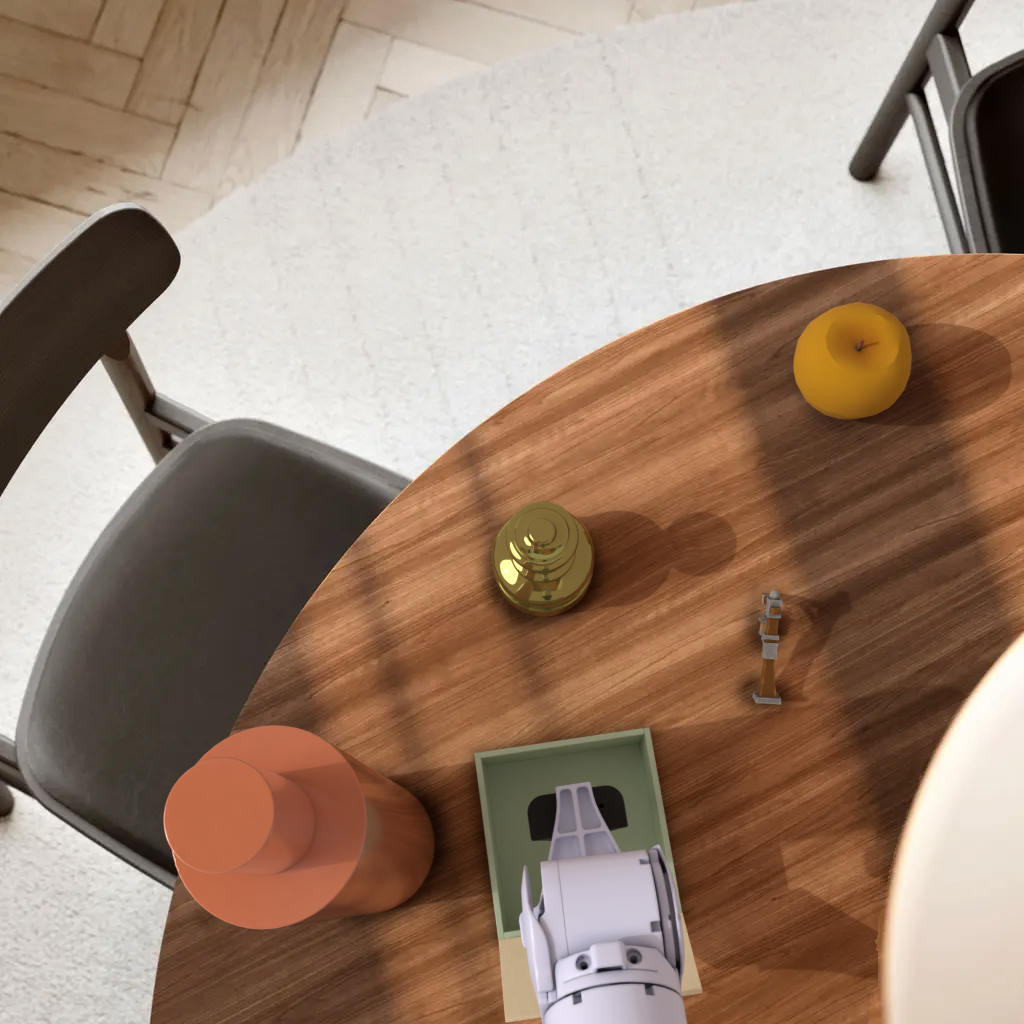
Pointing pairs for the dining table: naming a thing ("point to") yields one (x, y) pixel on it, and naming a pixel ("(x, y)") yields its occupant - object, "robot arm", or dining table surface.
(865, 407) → the apple
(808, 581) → the dining table surface
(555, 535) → the brass weight
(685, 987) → the door
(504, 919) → the box
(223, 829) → the vase
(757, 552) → the dining table surface
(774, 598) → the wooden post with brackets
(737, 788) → the dining table surface
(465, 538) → the dining table surface
